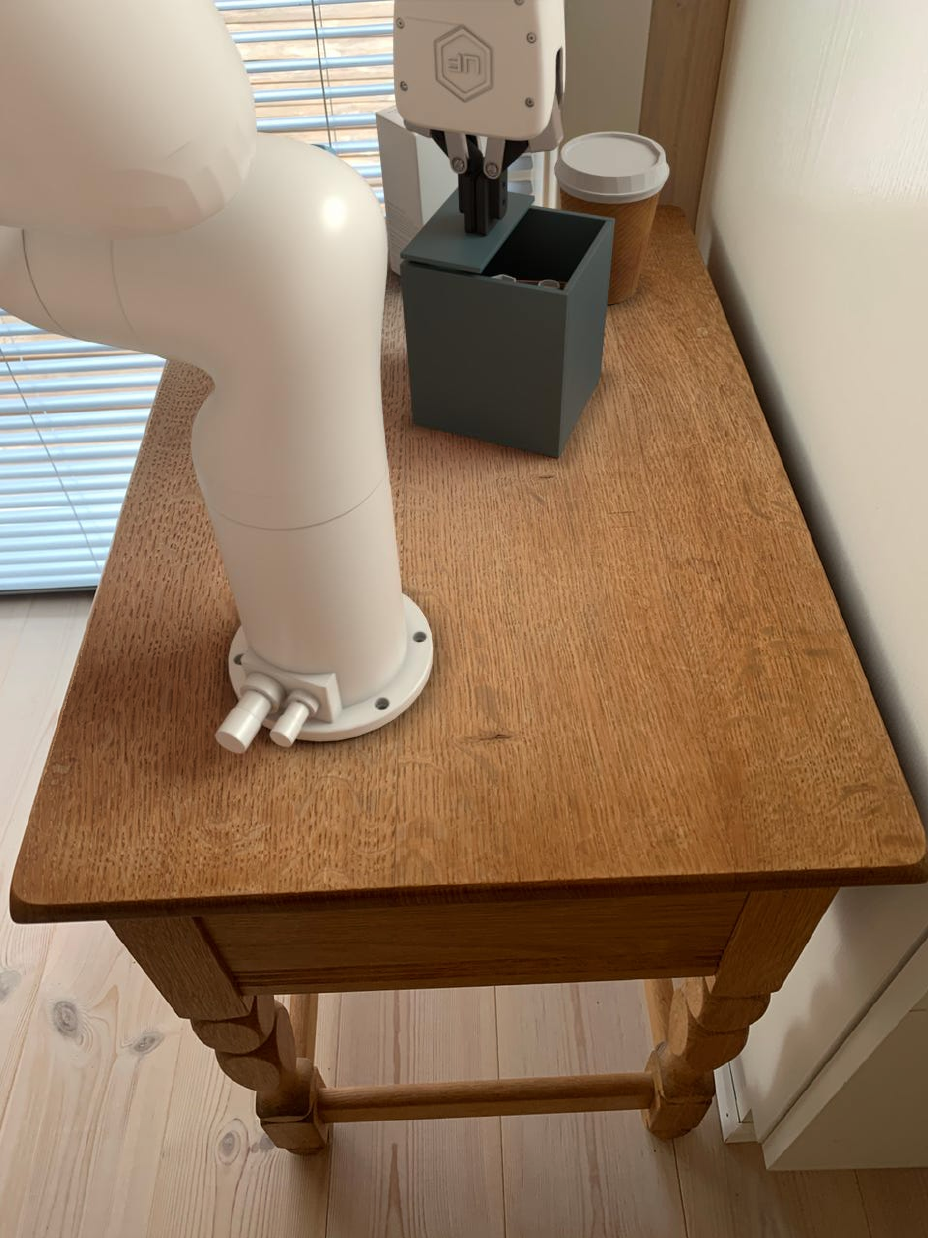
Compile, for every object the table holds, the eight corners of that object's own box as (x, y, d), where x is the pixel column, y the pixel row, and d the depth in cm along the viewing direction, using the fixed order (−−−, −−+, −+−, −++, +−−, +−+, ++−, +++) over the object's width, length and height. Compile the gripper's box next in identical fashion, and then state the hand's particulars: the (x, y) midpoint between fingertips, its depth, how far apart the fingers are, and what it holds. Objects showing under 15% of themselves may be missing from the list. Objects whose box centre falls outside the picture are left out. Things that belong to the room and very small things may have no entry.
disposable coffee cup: (645, 321, 86) (661, 184, 77) (538, 307, 88) (543, 172, 79) (661, 266, 92) (679, 134, 83) (561, 255, 94) (568, 124, 85)
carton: (412, 424, 77) (399, 264, 67) (465, 349, 84) (460, 193, 74) (558, 458, 74) (567, 295, 64) (600, 377, 81) (615, 217, 71)
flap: (400, 258, 67) (399, 253, 66) (460, 188, 73) (460, 183, 73) (480, 273, 65) (480, 268, 65) (534, 200, 72) (534, 195, 72)
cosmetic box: (456, 243, 96) (450, 79, 85) (496, 266, 93) (495, 99, 82) (386, 273, 93) (371, 106, 81) (426, 298, 89) (415, 129, 78)
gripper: (329, -82, 55) (364, 233, 69) (587, -61, 51) (569, 269, 65) (386, -116, 59) (408, 186, 73) (627, -99, 55) (602, 217, 69)
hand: (483, 224), depth 69 cm, fingers closed
